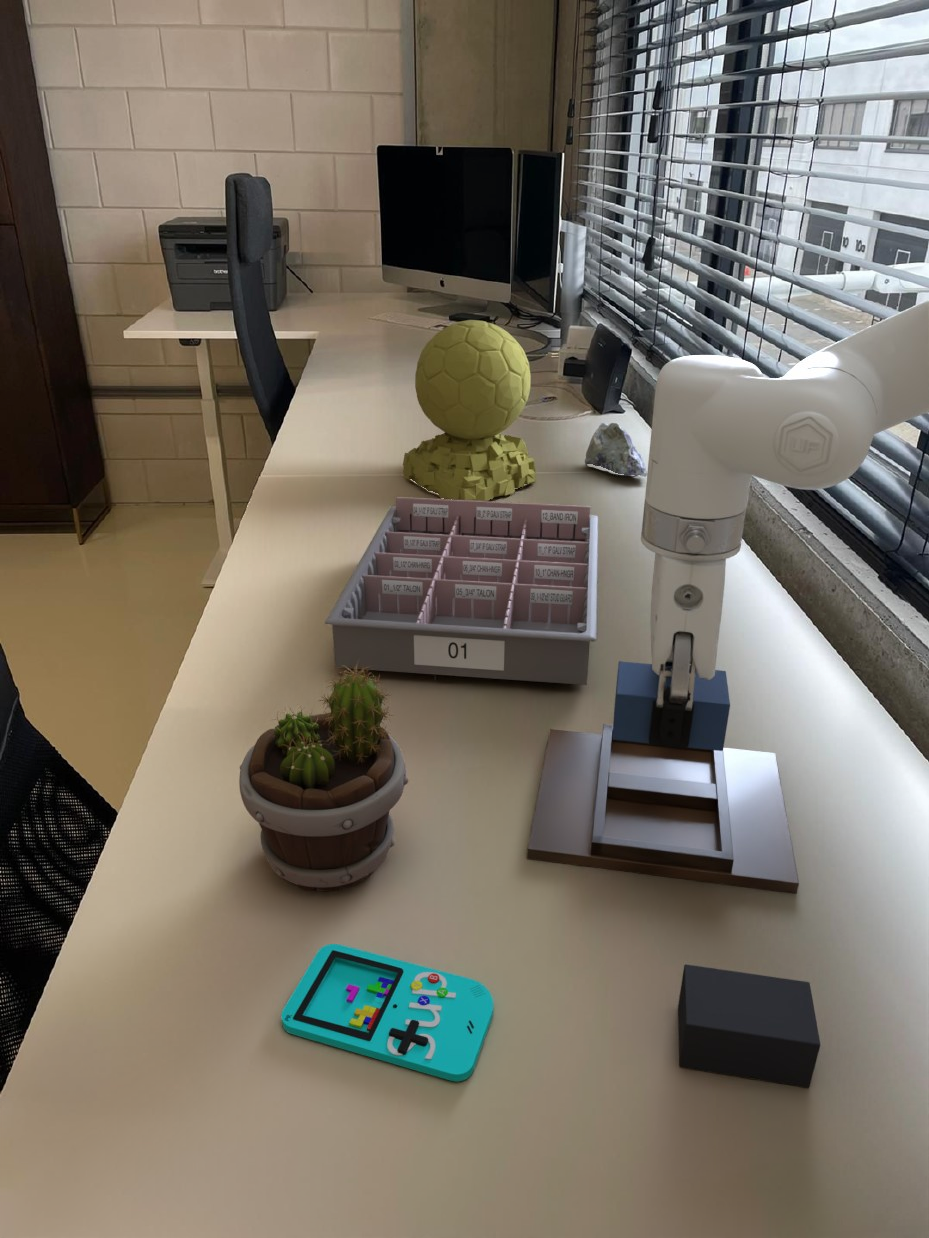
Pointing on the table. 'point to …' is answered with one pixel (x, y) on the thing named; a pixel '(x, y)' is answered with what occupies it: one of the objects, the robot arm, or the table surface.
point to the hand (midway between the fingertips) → (667, 722)
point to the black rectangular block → (747, 1026)
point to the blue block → (640, 691)
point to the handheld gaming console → (391, 1011)
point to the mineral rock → (614, 451)
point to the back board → (663, 811)
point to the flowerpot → (327, 788)
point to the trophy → (471, 413)
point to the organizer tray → (473, 592)
